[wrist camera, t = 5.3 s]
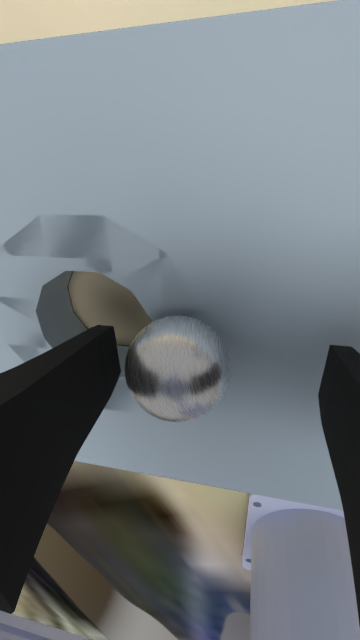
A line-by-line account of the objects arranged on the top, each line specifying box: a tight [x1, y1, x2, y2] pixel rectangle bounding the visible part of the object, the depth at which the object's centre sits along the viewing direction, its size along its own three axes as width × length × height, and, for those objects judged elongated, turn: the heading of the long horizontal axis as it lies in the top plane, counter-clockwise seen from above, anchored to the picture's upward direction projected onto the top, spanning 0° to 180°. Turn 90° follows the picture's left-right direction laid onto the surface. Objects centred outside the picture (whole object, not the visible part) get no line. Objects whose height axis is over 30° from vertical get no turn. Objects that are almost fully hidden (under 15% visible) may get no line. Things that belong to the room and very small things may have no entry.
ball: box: [124, 315, 230, 423], centre depth 10 cm, size 4×4×4 cm
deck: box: [0, 0, 360, 511], centre depth 13 cm, size 26×18×2 cm
